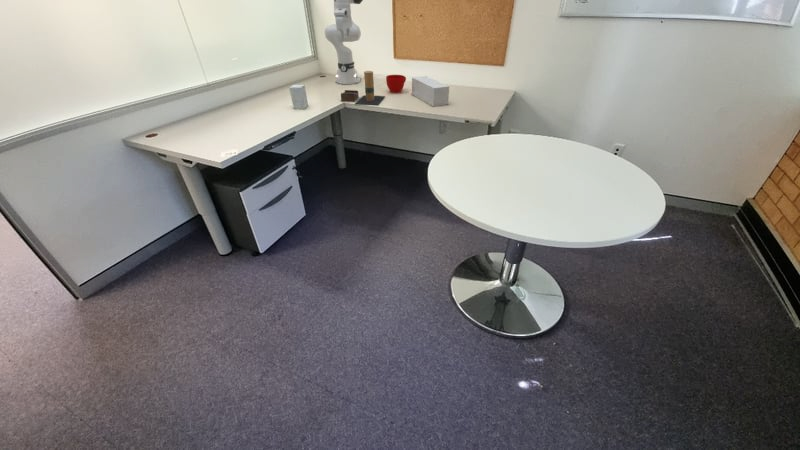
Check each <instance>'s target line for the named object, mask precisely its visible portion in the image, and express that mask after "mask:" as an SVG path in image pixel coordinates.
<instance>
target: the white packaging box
mask: <svg viewBox="0 0 800 450" xmlns="http://www.w3.org/2000/svg"><path fill="white" fill-rule="evenodd" d="M289 92H290V93H289V94H290V97H291V102H292V107H293V109H294V110H305V109H307V107H309V102H308V95H307V90H306V84H292V85H290V87H289Z"/></svg>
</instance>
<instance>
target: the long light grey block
mask: <svg viewBox="0 0 800 450" xmlns="http://www.w3.org/2000/svg"><path fill="white" fill-rule="evenodd" d="M411 95H412V96H414V97H416V98H418V99H419V100H421V101H423V102H424V103H426V104H428V105H430V106H432V107H438V106H445V105H449V97H450V85H447V84H445V83H443V82H441V81H438V80H436V79H434V78H432V77H429V76H428V75H424V76H423V75H422V76H413V77H411Z"/></svg>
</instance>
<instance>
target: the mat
mask: <svg viewBox="0 0 800 450" xmlns="http://www.w3.org/2000/svg"><path fill="white" fill-rule="evenodd" d="M385 97H386V96H385V95H374V100H373V101H367V100H366V94H365V95H362V96H361V97H359V98H358V99H357V100H356V101H355V102H354V105H361V106H363V105H364V106H379V105H380V103H382V101H383V100H384V99H385Z"/></svg>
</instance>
